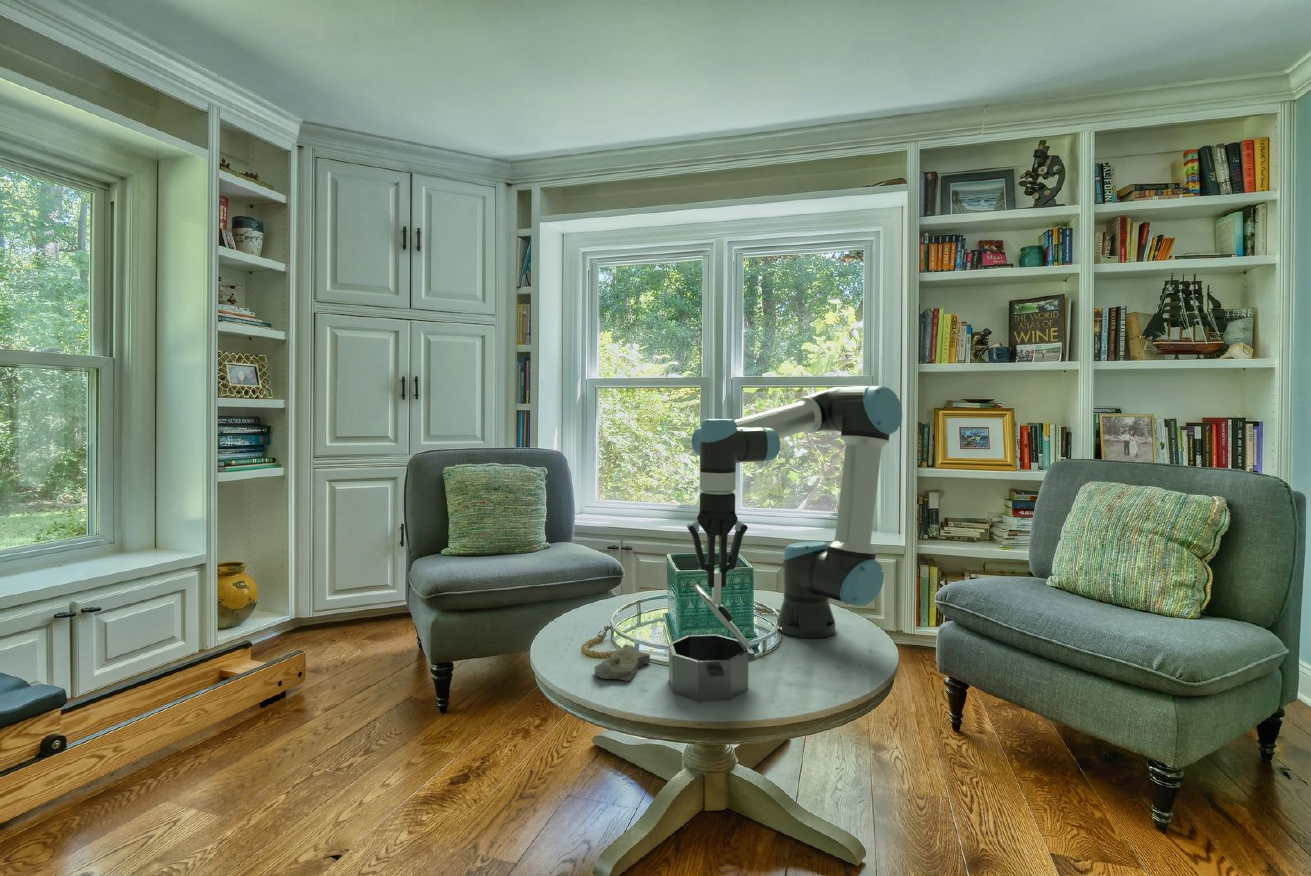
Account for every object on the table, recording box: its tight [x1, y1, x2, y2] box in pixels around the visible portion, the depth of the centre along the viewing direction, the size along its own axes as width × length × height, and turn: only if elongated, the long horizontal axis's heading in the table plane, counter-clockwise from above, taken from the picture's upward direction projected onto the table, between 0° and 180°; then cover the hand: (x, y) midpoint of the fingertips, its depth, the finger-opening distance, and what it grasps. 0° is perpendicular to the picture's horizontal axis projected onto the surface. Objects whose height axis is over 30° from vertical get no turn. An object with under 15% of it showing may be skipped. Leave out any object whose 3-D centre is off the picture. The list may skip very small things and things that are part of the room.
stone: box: [594, 643, 651, 682], centre depth 153 cm, size 15×10×4 cm, turn 158°
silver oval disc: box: [693, 583, 752, 650], centre depth 145 cm, size 17×17×2 cm
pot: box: [668, 633, 756, 702], centre depth 145 cm, size 18×21×8 cm
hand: (716, 601), depth 144 cm, fingers closed
